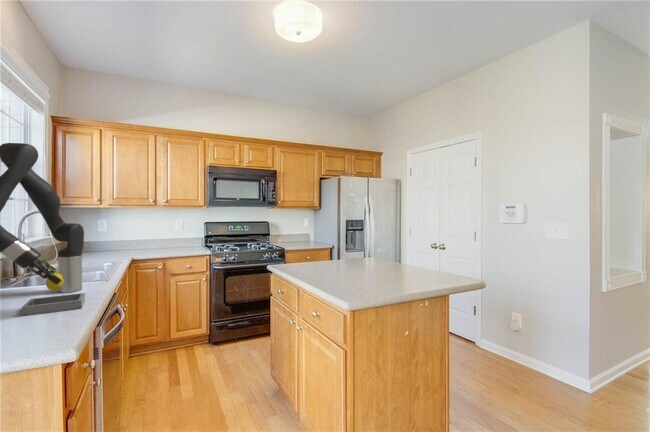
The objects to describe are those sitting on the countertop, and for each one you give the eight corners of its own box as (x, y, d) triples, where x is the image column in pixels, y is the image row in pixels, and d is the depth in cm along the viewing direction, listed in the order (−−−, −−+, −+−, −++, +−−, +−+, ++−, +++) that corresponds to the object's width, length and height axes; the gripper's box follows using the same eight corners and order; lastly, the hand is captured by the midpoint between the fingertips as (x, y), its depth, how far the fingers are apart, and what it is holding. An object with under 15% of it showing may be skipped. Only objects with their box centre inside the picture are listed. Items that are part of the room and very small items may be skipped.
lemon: (52, 290, 134) (52, 270, 134) (66, 290, 135) (66, 271, 134) (42, 293, 129) (42, 273, 128) (57, 293, 129) (57, 273, 129)
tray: (31, 306, 133) (30, 298, 133) (85, 300, 142) (84, 292, 142) (22, 316, 122) (22, 307, 122) (81, 308, 131) (81, 300, 131)
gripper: (25, 248, 121) (66, 277, 128) (35, 245, 134) (71, 271, 140) (6, 263, 119) (48, 292, 125) (17, 258, 131) (55, 284, 137)
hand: (60, 280), depth 133 cm, fingers closed on lemon, 5 cm apart
